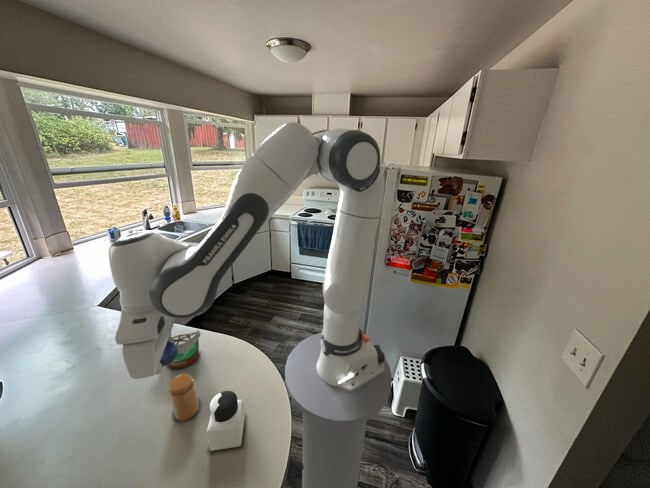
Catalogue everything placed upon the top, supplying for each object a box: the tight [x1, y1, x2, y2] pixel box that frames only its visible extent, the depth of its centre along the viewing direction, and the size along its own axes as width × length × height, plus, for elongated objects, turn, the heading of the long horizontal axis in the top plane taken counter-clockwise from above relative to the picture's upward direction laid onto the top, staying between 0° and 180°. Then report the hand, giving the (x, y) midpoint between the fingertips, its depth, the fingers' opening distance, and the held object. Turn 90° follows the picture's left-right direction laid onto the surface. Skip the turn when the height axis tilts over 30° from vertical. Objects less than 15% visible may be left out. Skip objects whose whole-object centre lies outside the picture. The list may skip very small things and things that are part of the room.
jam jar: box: [168, 373, 200, 421], centre depth 66 cm, size 6×6×11 cm
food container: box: [167, 329, 201, 370], centre depth 81 cm, size 12×6×10 cm, turn 114°
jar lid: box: [160, 341, 178, 367], centre depth 56 cm, size 6×6×2 cm
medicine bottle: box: [206, 390, 245, 452], centre depth 61 cm, size 7×7×12 cm
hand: (163, 358), depth 57 cm, fingers closed on jar lid, 6 cm apart
